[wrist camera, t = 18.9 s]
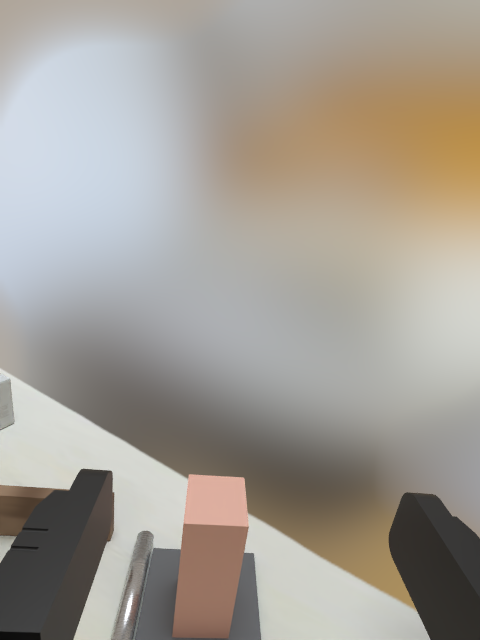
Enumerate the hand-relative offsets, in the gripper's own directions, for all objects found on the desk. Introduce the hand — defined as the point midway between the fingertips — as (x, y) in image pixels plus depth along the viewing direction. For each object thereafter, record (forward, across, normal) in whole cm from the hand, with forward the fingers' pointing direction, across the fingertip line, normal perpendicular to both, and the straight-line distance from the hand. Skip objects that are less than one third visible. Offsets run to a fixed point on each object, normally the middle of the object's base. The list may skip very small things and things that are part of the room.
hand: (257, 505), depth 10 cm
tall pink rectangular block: (+13, 0, +25) cm, 29 cm away
